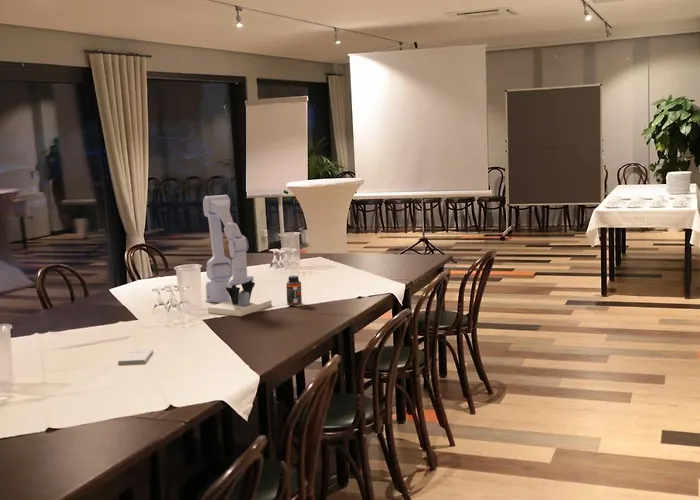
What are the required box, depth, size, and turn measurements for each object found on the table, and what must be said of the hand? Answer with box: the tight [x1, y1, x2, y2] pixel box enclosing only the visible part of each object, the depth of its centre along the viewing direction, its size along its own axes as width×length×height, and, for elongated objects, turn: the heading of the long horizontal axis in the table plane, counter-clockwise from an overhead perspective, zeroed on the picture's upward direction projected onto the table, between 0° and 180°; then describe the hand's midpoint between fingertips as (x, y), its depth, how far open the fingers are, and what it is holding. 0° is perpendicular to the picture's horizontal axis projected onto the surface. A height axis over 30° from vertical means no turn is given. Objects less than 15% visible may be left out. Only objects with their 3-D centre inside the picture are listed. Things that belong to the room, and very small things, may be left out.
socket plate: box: [207, 297, 272, 317], centre depth 306 cm, size 16×20×3 cm
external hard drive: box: [117, 348, 154, 366], centre depth 242 cm, size 2×8×12 cm
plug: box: [237, 289, 251, 307], centre depth 303 cm, size 4×3×8 cm
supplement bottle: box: [285, 275, 303, 306], centre depth 311 cm, size 6×6×11 cm
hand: (241, 302), depth 304 cm, fingers open, 7 cm apart
